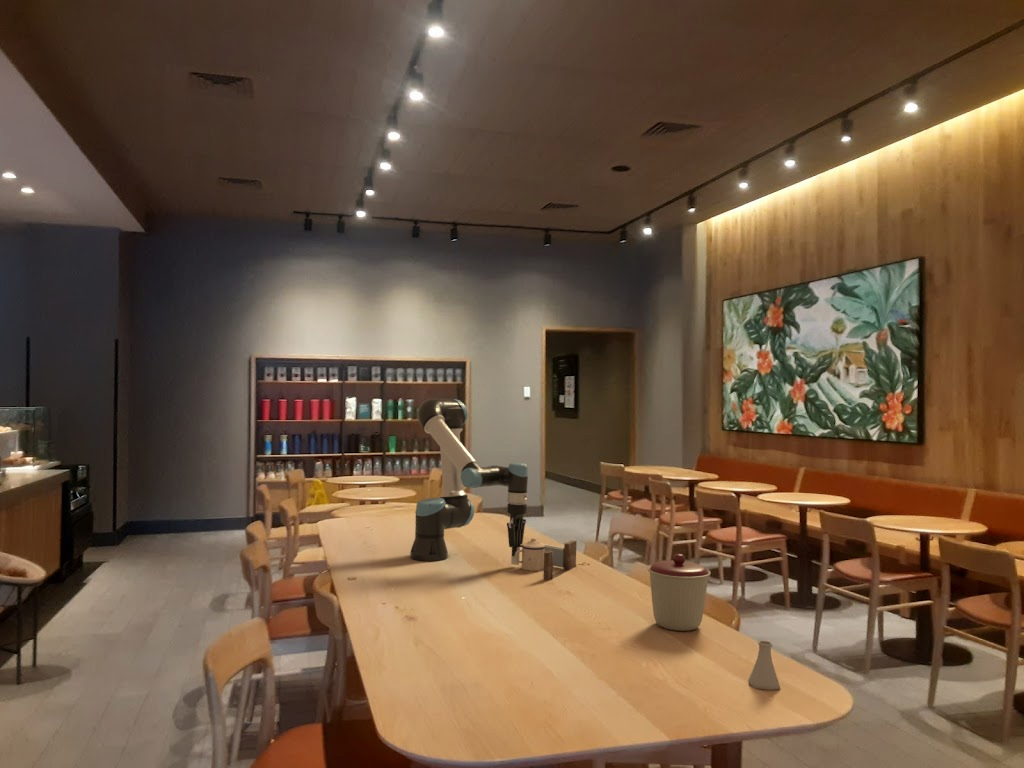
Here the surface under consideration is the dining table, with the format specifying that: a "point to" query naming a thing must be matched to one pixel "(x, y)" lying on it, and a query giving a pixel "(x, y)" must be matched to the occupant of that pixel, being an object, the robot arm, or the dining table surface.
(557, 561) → the gate
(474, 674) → the dining table surface
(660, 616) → the canister
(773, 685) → the flask
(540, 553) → the teacup with lid
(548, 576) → the frame
